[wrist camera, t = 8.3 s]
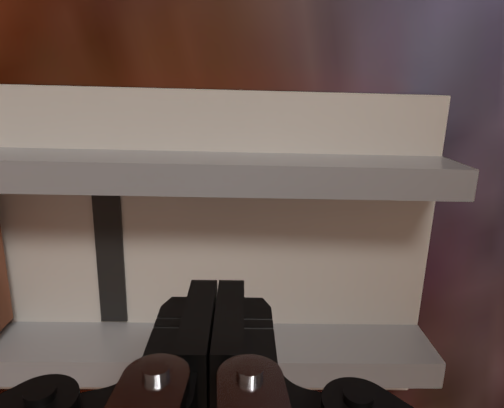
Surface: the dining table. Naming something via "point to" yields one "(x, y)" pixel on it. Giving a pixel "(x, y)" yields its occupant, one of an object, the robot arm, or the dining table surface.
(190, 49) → the dining table surface
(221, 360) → the robot arm
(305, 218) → the chute
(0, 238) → the block
